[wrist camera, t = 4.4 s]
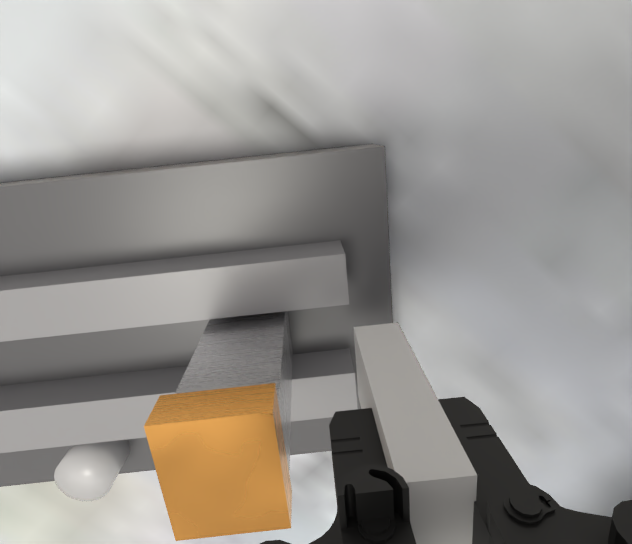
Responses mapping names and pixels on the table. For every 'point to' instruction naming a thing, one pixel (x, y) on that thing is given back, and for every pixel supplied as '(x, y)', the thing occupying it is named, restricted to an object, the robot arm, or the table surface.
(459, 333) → the table surface
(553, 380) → the table surface
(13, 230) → the console
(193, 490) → the fader
